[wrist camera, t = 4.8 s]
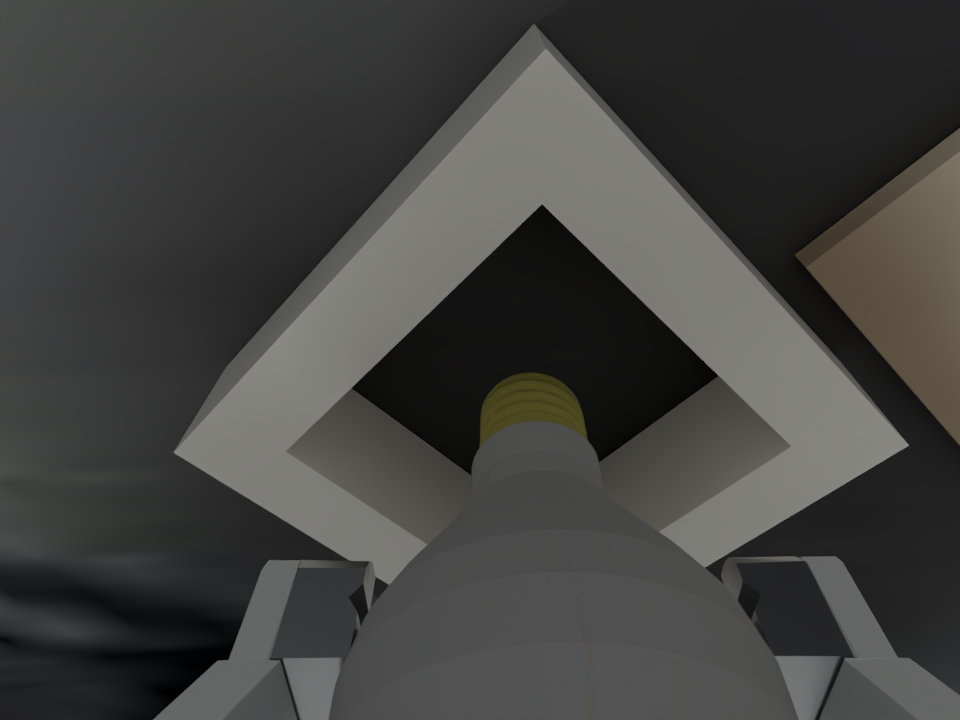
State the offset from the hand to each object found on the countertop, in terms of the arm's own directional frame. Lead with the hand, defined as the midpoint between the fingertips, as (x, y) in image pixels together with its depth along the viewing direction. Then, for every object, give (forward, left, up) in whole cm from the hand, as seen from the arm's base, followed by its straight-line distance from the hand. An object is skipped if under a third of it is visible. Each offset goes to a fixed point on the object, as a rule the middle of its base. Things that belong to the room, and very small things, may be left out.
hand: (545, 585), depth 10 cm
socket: (0, 0, -6) cm, 6 cm away
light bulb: (0, 0, -5) cm, 5 cm away
